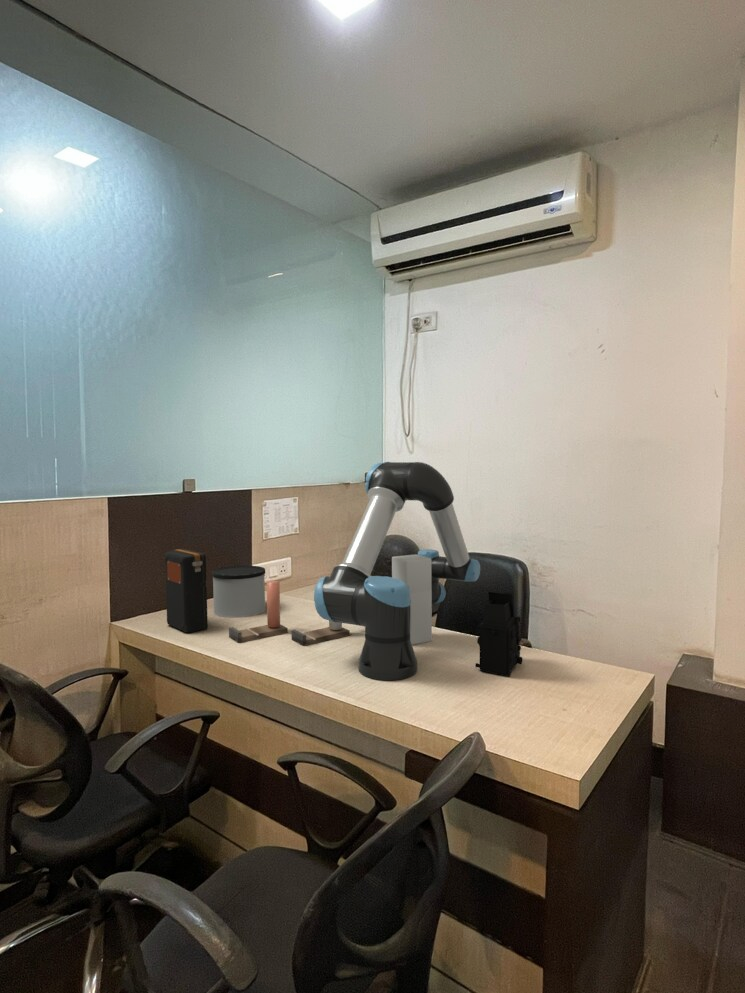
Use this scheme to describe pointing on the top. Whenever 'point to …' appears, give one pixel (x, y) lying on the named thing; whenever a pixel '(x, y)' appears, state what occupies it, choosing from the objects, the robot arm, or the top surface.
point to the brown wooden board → (317, 635)
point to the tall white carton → (417, 593)
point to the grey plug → (335, 625)
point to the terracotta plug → (273, 603)
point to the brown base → (255, 633)
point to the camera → (499, 635)
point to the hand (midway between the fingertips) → (349, 609)
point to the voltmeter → (186, 590)
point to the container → (238, 591)
